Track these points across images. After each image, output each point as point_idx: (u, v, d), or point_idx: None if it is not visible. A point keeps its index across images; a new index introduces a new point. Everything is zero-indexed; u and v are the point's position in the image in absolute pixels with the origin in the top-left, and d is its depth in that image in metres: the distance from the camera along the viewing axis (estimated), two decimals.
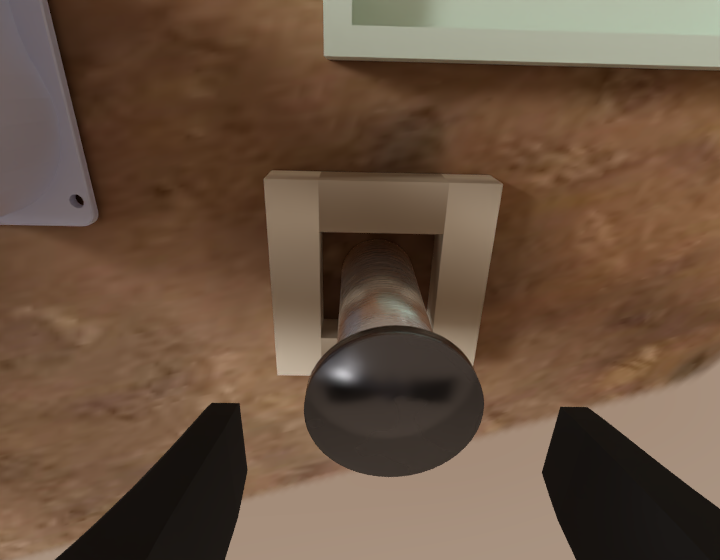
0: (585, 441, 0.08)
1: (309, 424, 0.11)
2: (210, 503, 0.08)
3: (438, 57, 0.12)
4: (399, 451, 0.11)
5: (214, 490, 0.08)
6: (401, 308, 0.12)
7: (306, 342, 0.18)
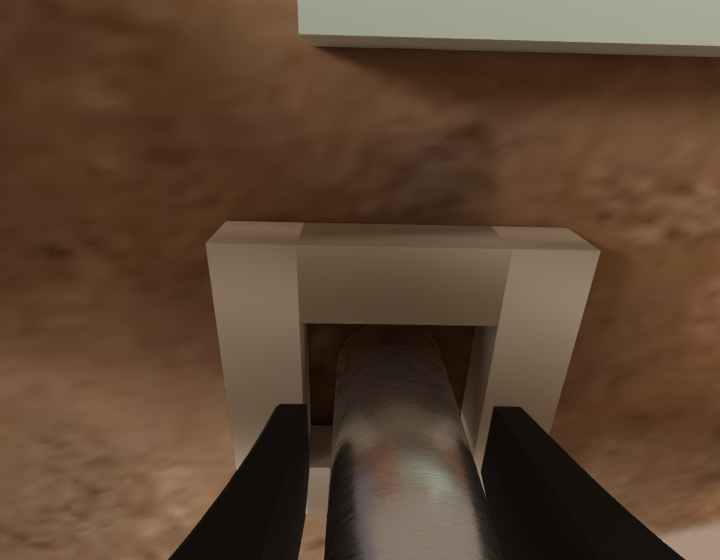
0: (510, 440, 0.08)
1: None
2: (291, 503, 0.08)
3: (515, 36, 0.07)
4: None
5: (294, 491, 0.08)
6: (445, 516, 0.06)
7: None
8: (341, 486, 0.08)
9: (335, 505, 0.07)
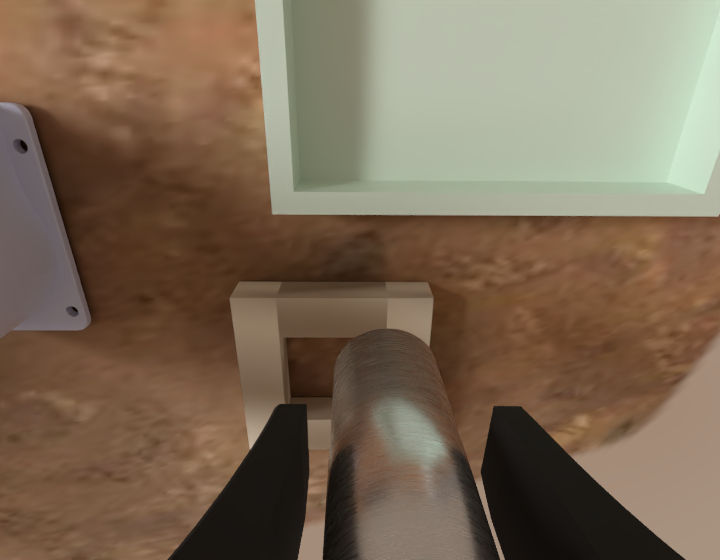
0: (510, 440, 0.08)
1: None
2: (291, 504, 0.08)
3: (367, 213, 0.15)
4: None
5: (294, 491, 0.08)
6: (442, 520, 0.07)
7: None
8: (339, 491, 0.08)
9: (333, 510, 0.07)
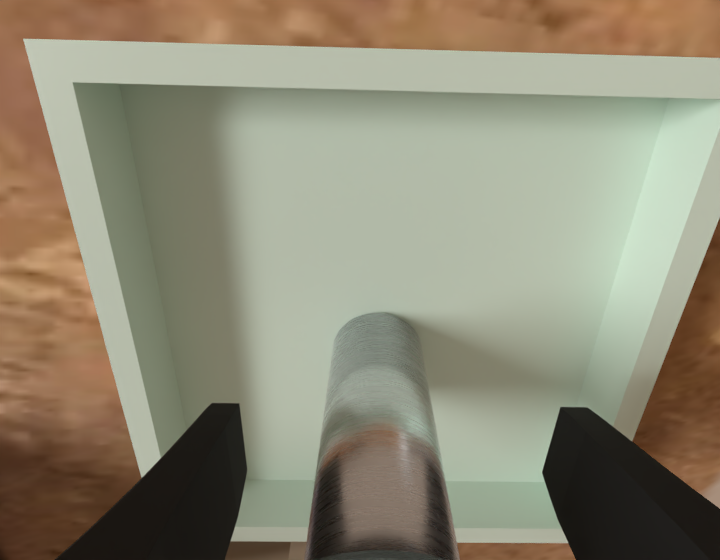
0: (585, 441, 0.08)
1: None
2: (210, 503, 0.08)
3: None
4: None
5: (214, 490, 0.08)
6: (402, 463, 0.09)
7: None
8: (328, 442, 0.10)
9: (322, 455, 0.10)
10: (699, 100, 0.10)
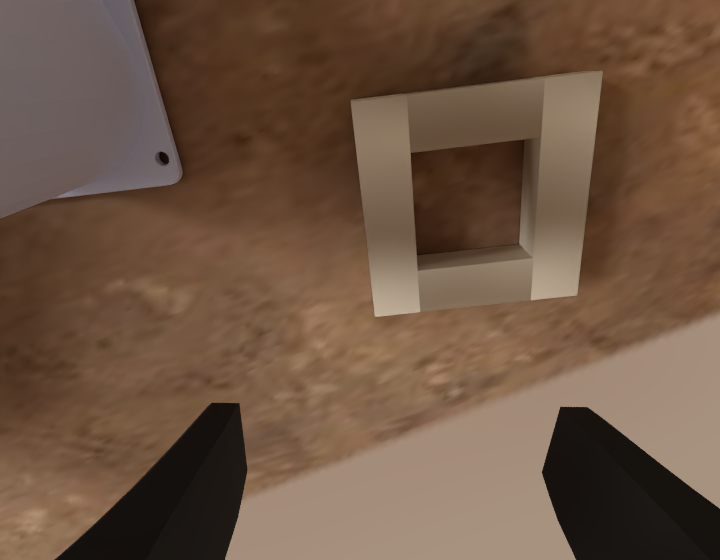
0: (585, 441, 0.08)
1: None
2: (211, 503, 0.08)
3: None
4: None
5: (214, 490, 0.08)
6: None
7: (402, 277, 0.17)
8: None
9: None
10: None
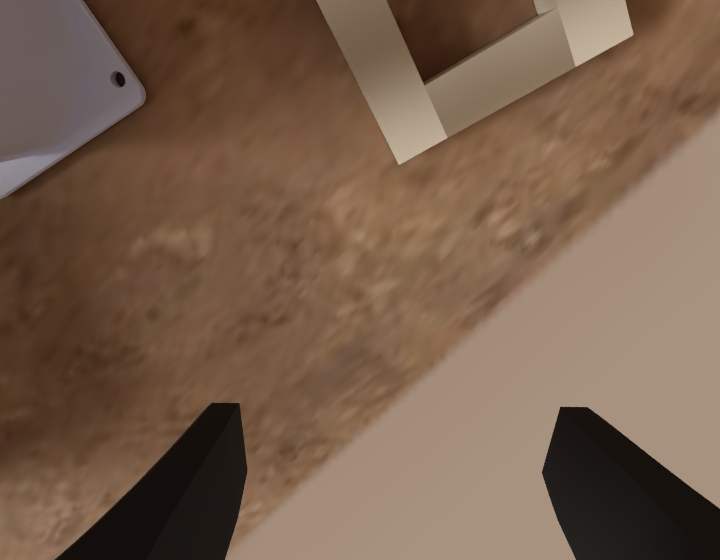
0: (585, 441, 0.08)
1: None
2: (210, 503, 0.08)
3: None
4: None
5: (214, 490, 0.08)
6: None
7: (410, 101, 0.14)
8: None
9: None
10: None
